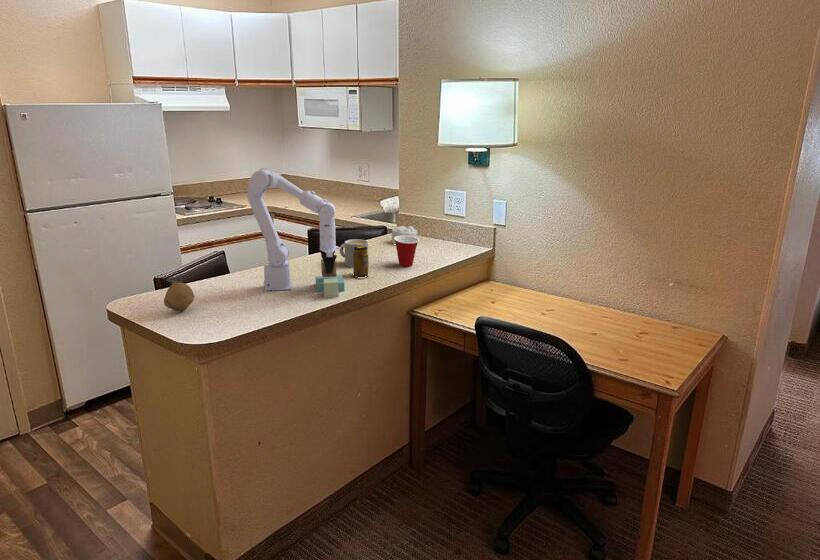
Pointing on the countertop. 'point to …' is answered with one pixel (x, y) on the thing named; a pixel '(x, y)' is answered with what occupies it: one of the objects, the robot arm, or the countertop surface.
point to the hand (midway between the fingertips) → (328, 270)
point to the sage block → (331, 287)
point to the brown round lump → (179, 297)
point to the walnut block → (325, 270)
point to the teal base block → (320, 278)
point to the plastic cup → (406, 249)
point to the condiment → (360, 262)
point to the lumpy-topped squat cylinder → (403, 232)
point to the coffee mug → (351, 250)
